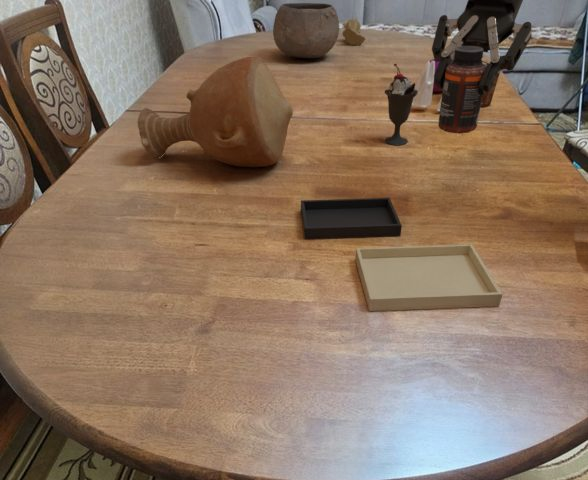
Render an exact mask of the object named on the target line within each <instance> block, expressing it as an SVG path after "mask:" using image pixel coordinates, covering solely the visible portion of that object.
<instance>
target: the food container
mask: <svg viewBox="0 0 588 480" xmlns="http://www.w3.org/2000/svg"><path fill="white" fill-rule="evenodd" d="M482 63H483V65H485V67H486V66H487V64H488V62H487V61H484V60H482ZM502 73H504V69H503V70H500V71H499V72H498V73H497V76H496V78H495V81H494V83H493V86H492V88H491V90H490V91H489V92H487V91H486V93H485V95H482V101H481V106H480V108H487V107H491V105H492V101H493V97H494V93H495V91H496V87H497V83H498V81H499V77H500V74H502Z"/></svg>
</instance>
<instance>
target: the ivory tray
mask: <svg viewBox="0 0 588 480" xmlns="http://www.w3.org/2000/svg"><path fill="white" fill-rule="evenodd" d="M354 259H355V263H356V267H357V271H358V275H359V278H360V282H361V287H362V290H363V293H364V297H365V300H366V304H367V308H368V311H369V312H381V311H382V312H385V311H408V310H410V311H411V310H431V309H432V310H435V309H460V308H461V309H463V308H487V307H488V308H489V307H500V305H501V301H502V298H503V292H502V290H501V289H500V287H499V286H498V284H497V283H496V281H495V279H494V277H493V275H492V274H491V272H490V271H489V269H488V268H487V266H486V265H485V262H483V260H482V258H481V255H479V253H478V252H477V249H476V248H475V247H474V244H473V243H463V244H435V245H434V244H433V245H407V246H406V245H404V246H378V247H356V248H355V258H354Z"/></svg>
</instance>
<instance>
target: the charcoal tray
mask: <svg viewBox="0 0 588 480" xmlns="http://www.w3.org/2000/svg"><path fill="white" fill-rule="evenodd" d="M300 215H301V216H300V217H301V222H302V230H303V237H304V240H327V239H329V240H330V239H355V238H384V237H386V238H387V237H401V235H402V228H403V227H402V223H401V221H400V218H399V216H398V214H397V212H396V208H395V207H394V205H393V202H392V199H391V198H390V197H369V198H367V197H366V198H364V197H363V198H335V199H304V200H300Z"/></svg>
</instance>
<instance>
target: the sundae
mask: <svg viewBox="0 0 588 480" xmlns="http://www.w3.org/2000/svg"><path fill="white" fill-rule="evenodd" d="M393 66H394V67H395V68H396V70H397V72H396V75H394V76H393V81H392V82H391V83H389V84H390V85H389V86H388V89H385V90H384V94H385V95H386V96H387V103H388V105H387V106H388V118H389V120H390V122H391V123H392V124H393V125H394V131H393V134H392V135H391V136H388V137H386V138H385V139H384V142H385V144H388V145H391V146H403V145H406V144H407V143H408V139H407V138H405V137H403V136H401V126H402V125H404V124H405V123H406V122H407V120H408V119H409V116H410V113H411V109H412V107H411V106H412V102H413V98H414V97H415V96H416V95H417V93H418V91H417V90H414V89H415V87H416V83H415V82H414V83H412V81H411V80H410V79H409V78H408V77H407V76H404V74H403V73H401V71H400V68H399V66H398V64H397V63H394V64H393Z"/></svg>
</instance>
